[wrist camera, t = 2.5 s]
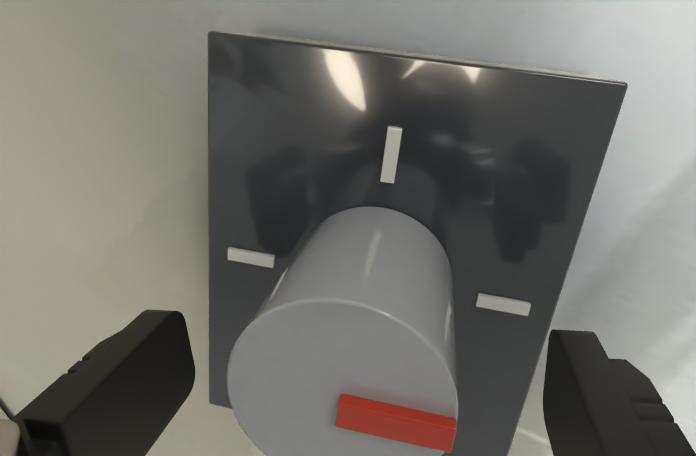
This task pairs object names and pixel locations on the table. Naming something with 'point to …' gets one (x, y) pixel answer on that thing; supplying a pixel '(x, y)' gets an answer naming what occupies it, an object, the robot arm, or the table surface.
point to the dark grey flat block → (406, 189)
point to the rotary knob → (353, 345)
